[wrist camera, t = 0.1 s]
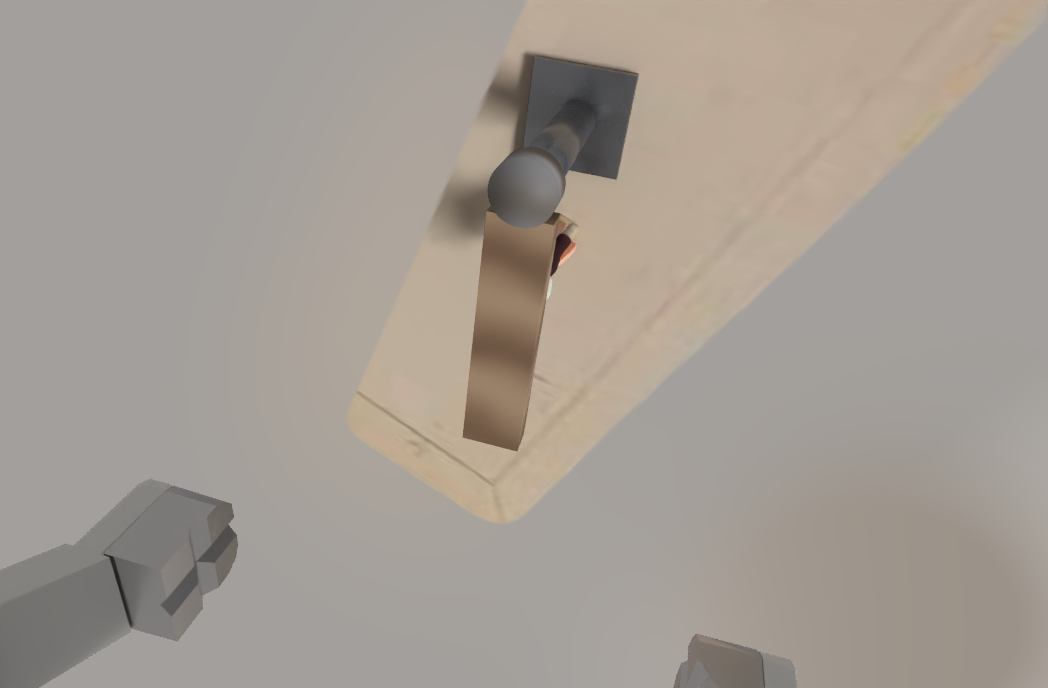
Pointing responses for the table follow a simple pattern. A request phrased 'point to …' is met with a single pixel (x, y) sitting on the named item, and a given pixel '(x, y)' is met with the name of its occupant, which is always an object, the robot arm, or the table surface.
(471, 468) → the table surface
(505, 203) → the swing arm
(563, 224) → the grandmother figurine
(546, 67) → the arm post
